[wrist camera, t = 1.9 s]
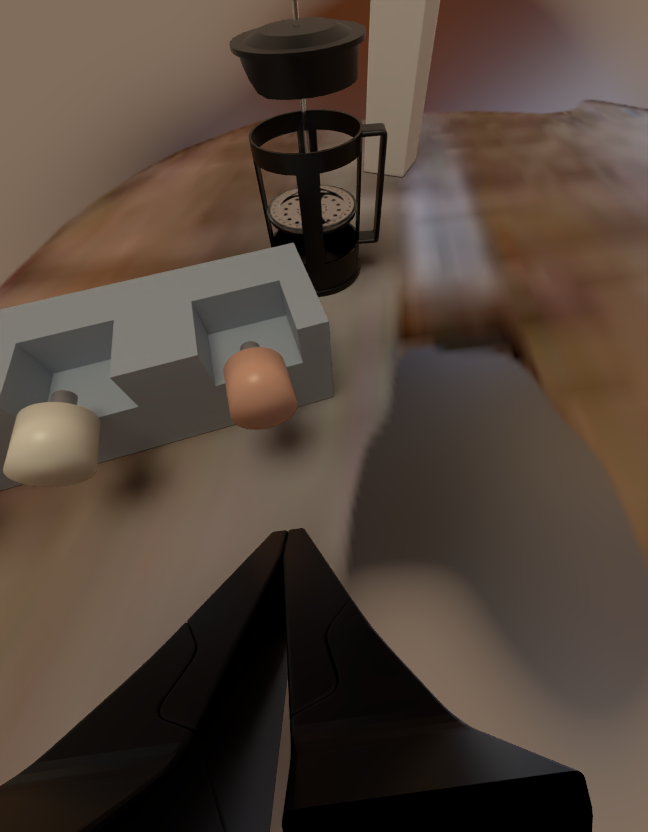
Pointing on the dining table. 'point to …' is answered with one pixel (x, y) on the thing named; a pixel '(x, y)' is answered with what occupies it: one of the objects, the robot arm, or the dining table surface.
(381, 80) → the milk
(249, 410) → the terracotta button
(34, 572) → the dining table surface
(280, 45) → the french press
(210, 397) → the block
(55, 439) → the cream button
